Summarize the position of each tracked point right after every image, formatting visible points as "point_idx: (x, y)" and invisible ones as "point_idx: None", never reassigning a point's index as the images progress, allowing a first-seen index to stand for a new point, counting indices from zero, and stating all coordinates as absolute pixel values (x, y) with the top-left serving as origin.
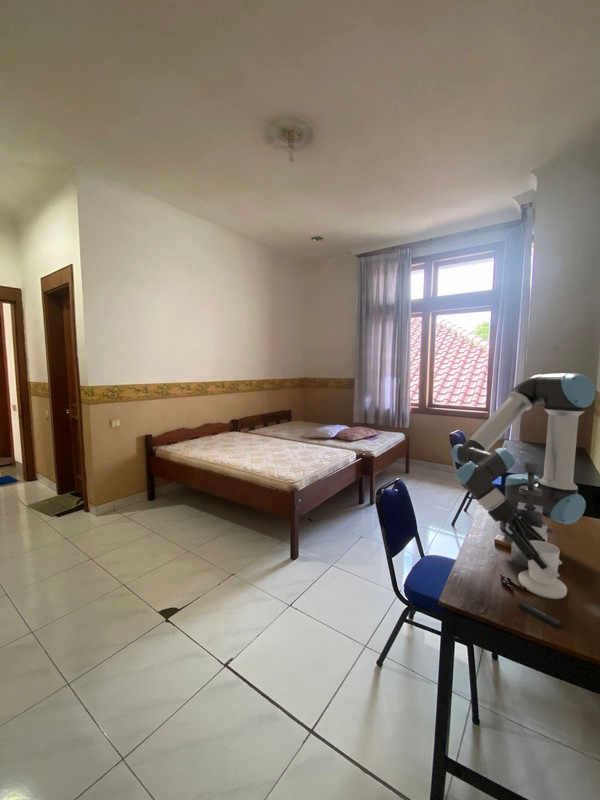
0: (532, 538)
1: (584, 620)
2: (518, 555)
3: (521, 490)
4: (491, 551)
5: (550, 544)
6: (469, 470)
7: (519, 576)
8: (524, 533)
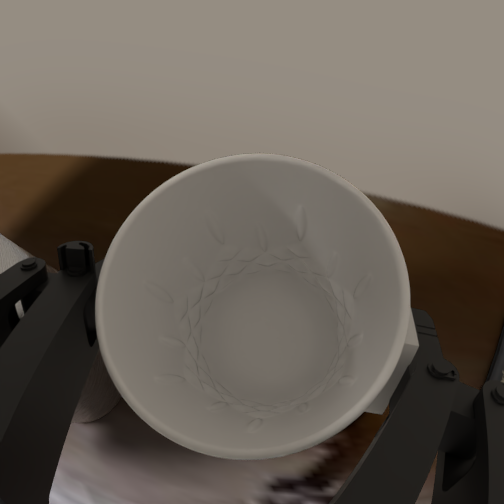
0: (73, 361)
1: (449, 234)
2: (86, 409)
3: None
4: (58, 485)
5: (145, 211)
6: None
7: None
8: (48, 452)
